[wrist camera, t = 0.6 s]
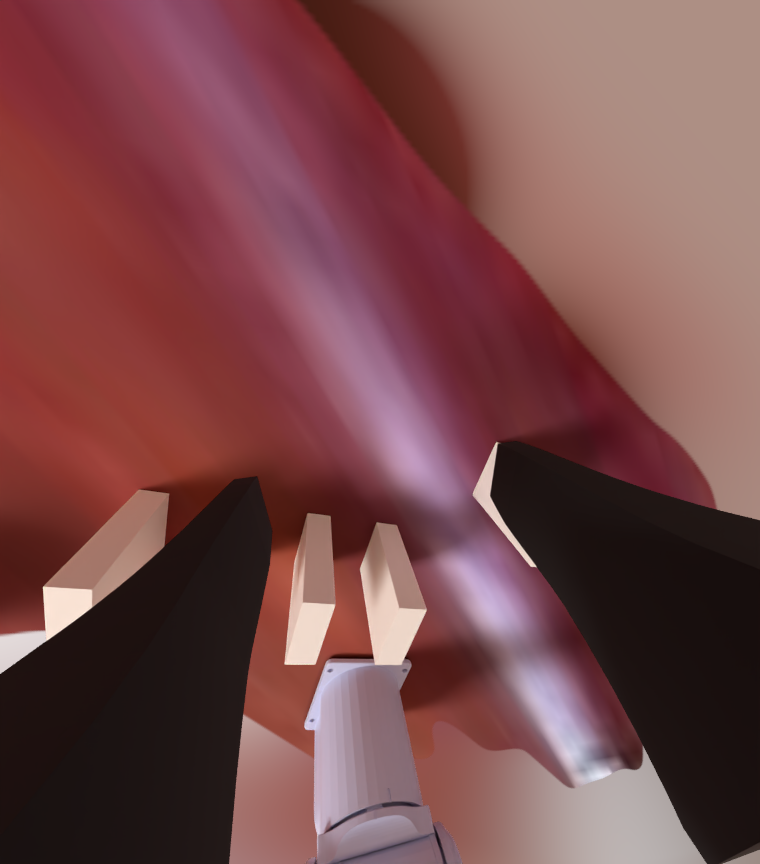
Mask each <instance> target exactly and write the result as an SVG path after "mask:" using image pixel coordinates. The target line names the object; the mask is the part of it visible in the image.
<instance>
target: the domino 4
mask: <svg viewBox="0 0 760 864" xmlns="http://www.w3.org/2000/svg"><path fill="white" fill-rule="evenodd" d="M498 443H499V442H496V444H495V446H494V448H493V450H492V453H491V455H490V457H489V459H488V461H487V464H486V466H485V468H484V470H483V472H482V474H481V477H480V479H479V481H478V483H477V485H476V488H475V490H474V492H473V494H472V495H473V496H474V497H475V498H476V500H477V501H478V502H479V503H480V505H481V506H482V507H483V508H484V510H485V511H486V512H487V513H488V514H489V516H490V517H491V518H492V519H493V521H494V522H495V523H496V524H497V525H498V527H499V528H500V529H501V530H502V532H503V533H504V534H505V535H506V537H507V538H508V539H509V540H510V541H511V543H512V544H513V545H514V546H515V548H516V549H517V550H518V551H519V552H520V554H521V555H522V556H523V557H524V559H525V560H526V561H527V562H528V564H529V565H530V566H531V567H536V565H535V564H534V563H533V561H532V560H531V559H530V557H529V556H528V555H527V553H526V552H525V551H524V549H523V548H522V547H521V545H520V544H519V542H518V541H517V540H516V538H515V537H514V536H513V534H512V533H511V531H510V530H509V529H508V527H507V526H506V524H505V523H504V521H503V519H502V518H501V516H500V514H499V512H498V511H497V509H496V507H495V505H494V503H493V501H492V499H491V497H490V492H491V485H492V478H493V472H494V465H495V458H496V452H497V445H498Z"/></svg>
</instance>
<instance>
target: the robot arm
mask: <svg viewBox="0 0 760 864" xmlns="http://www.w3.org/2000/svg"><path fill="white" fill-rule="evenodd" d="M490 497H491V499H492V501H493V503H494V505H495V507H496V509H497V511H498V512H499V514H500V516H501V518H502V519H503V521H504V523H505V524H506V526H507V527H508V529H509V530H510V531H511V533H512V534H513V536H514V537H515V538H516V540H517V541H518V542H519V544H520V545H521V547H522V548H523V549H524V551H525V552H526V553H527V555H528V556H529V557H530V559H531V560H532V561H533V563H534V564H535V565H536V567H537V568H538V569H539V571H540V572H541V573H542V575H543V576H544V577H545V579H546V580H547V581H548V583H549V584H550V585H551V587H552V588H553V590H554V591H555V593H556V594H557V595H558V597H559V598H560V600H561V601H562V603H563V604H564V606H565V607H566V609H567V611H568V612H569V614H570V616H571V617H572V619H573V621H574V622H575V624H576V625H577V627H578V629H579V630H580V632H581V634H582V635H583V637H584V639H585V640H586V642H587V644H588V645H589V647H590V649H591V651H592V652H593V654H594V656H595V658H596V659H597V661H598V663H599V665H600V666H601V668H602V670H603V672H604V673H605V675H606V677H607V679H608V680H609V682H610V684H611V686H612V688H613V689H614V691H615V693H616V695H617V697H618V699H619V701H620V703H621V704H622V706H623V708H624V710H625V712H626V714H627V716H628V717H629V719H630V721H631V723H632V725H633V727H634V729H635V730H636V732H637V734H638V736H639V738H640V740H641V742H642V744H643V746H644V748H645V750H646V752H647V754H648V756H649V758H650V760H651V762H652V764H653V766H654V768H655V770H656V772H657V774H658V776H659V778H660V780H661V782H662V784H663V786H664V788H665V790H666V792H667V794H668V796H669V799H670V801H671V803H672V805H673V807H674V809H675V811H676V813H677V816H678V818H679V820H680V822H681V824H682V826H683V828H684V830H685V831H686V833H687V834H688V836H689V837H690V839H691V840H692V842H693V843H694V845H695V846H696V848H697V849H698V851H699V852H700V854H701V855H702V857H703V858H704V860H705V861H706V863H707V864H723V863H725V862H728V861H731V860H733V859H736V858H738V857H741V856H744V855H746V854H749V853H752V852H754V851H757V850H760V520H756V519H752V518H748V517H744V516H740V515H735V514H732V513H728V512H724V511H720V510H716V509H712V508H708V507H705V506H701V505H697V504H694V503H691V502H687V501H684V500H680V499H677V498H674V497H670V496H667V495H663V494H660V493H657V492H654V491H651V490H648V489H645V488H642V487H639V486H636V485H633V484H630V483H627V482H625V481H622V480H619V479H616V478H613V477H610V476H608V475H605V474H602V473H600V472H597V471H595V470H592V469H589V468H587V467H584V466H582V465H579V464H577V463H574V462H572V461H569V460H566V459H564V458H561V457H559V456H556V455H554V454H551V453H549V452H546V451H544V450H541V449H538V448H536V447H533V446H530V445H527V444H524V443H521V442H517V441H513V442H506V443H498V445H497V452H496V458H495V465H494V472H493V478H492V485H491V492H490ZM271 543H272V528H271V524H270V521H269V517H268V514H267V510H266V506H265V503H264V499H263V496H262V492H261V489H260V485H259V481H258V478H257V476H256V477H249V478H241V479H234V480H233V481H232V482H231V483H230V484H229V485H228V486H227V487H226V488H225V489H224V490H223V491H222V492H221V493H220V494H219V495H218V496H217V497H216V498H215V499H214V500H213V501H212V502H211V503H210V504H209V505H208V506H207V507H206V508H205V509H204V510H203V511H202V512H200V513H199V514H198V515H197V516H196V517H195V518H194V519H193V520H192V521H191V522H190V523H189V524H188V525H187V526H186V527H185V528H184V529H183V530H182V531H181V532H180V533H179V534H178V535H177V536H176V537H175V538H173V539H172V540H171V541H170V542H169V543H168V544H167V545H166V546H165V547H163V548H162V549H161V550H160V551H159V552H158V553H157V554H156V555H155V556H153V557H152V558H151V559H150V560H149V561H148V562H147V563H146V564H145V565H144V566H142V567H141V568H140V569H139V570H138V571H137V572H135V573H134V574H133V575H132V576H131V577H129V578H128V579H127V580H126V581H125V582H123V583H122V584H121V585H120V586H119V587H117V588H116V589H115V590H114V591H112V592H111V593H110V594H109V595H107V596H106V597H105V598H103V599H102V600H101V601H100V602H98V603H97V604H96V605H95V606H93V607H92V608H91V609H89V610H88V611H87V612H86V613H84V614H83V615H82V616H80V617H79V618H78V619H76V620H75V621H74V622H72V623H71V624H70V625H68V626H67V627H65V628H64V629H63V630H61V631H60V632H58V633H57V634H56V635H54V636H53V637H51V638H50V639H49V640H47V641H46V642H45V643H43V644H42V645H40V646H39V647H37V648H36V649H35V650H33V651H32V652H30V653H29V654H28V655H26V656H25V657H24V658H22V659H21V660H19V661H18V662H17V663H15V664H14V665H12V666H11V667H10V668H8V669H7V670H5V671H4V672H3V673H1V674H0V864H229V857H230V844H231V834H232V822H233V811H234V799H235V788H236V777H237V767H238V757H239V748H240V738H241V728H242V719H243V711H244V702H245V694H246V685H247V677H248V670H249V664H250V658H251V652H252V647H253V643H254V638H255V633H256V628H257V624H258V619H259V614H260V609H261V605H262V600H263V595H264V590H265V586H266V581H267V576H268V571H269V566H270V556H271ZM411 666H412V665H411V661H410V660H408V659H404V660H403V662H402V664H401V665H375V661H374V659H329V660H328V661H327V662H326V664H325V667H324V670H323V672H322V675H321V678H320V681H319V684H318V687H317V689H316V692H315V695H314V698H313V701H312V704H311V706H310V709H309V712H308V715H307V718H306V721H305V729H306V730H315V764H314V768H315V770H314V819H315V827H316V831H317V835H318V836H317V860H316V857H313V858H310V859H308V860H307V862H306V864H462V860H461V857H460V854H459V851H458V849H457V846H456V844H455V841H454V839H453V837H452V836H451V834H450V833H449V832H448V831H447V830H446V829H445V827H444V826H443V824H442V823H441V822H435V823H432V818H431V813H430V809H429V806H428V805H425V806H423V802H422V797H421V792H420V787H419V783H418V778H417V773H416V768H415V764H414V758H413V754H412V749H411V744H410V739H409V734H408V730H407V725H406V720H405V715H404V711H403V706H402V701H401V696H400V689H401V687H402V685H403V683H404V681H405V679H406V677H407V674H408V672H409V670H410V668H411Z"/></svg>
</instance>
